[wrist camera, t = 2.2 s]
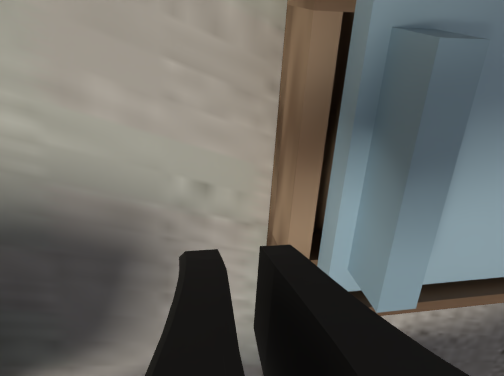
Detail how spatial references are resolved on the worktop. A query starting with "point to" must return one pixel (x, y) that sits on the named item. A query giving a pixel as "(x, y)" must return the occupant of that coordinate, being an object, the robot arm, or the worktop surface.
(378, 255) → the lid
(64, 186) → the worktop surface
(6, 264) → the worktop surface
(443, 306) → the lid box
